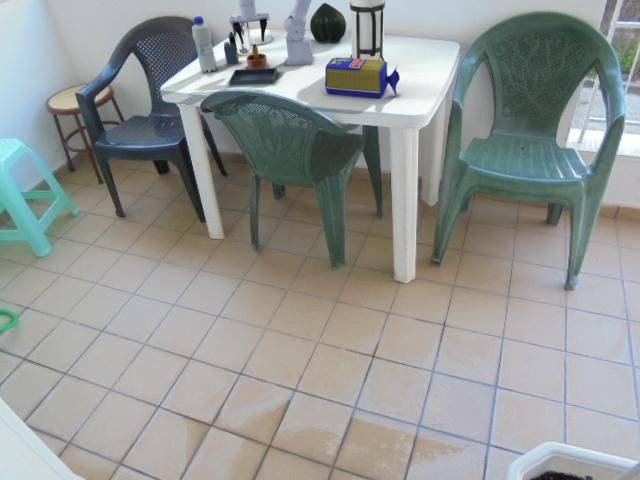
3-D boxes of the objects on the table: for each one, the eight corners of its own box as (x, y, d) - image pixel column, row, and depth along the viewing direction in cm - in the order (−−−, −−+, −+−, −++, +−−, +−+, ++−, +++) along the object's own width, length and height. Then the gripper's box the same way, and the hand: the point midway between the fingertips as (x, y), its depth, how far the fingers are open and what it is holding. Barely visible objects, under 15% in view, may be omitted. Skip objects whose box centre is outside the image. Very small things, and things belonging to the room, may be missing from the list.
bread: (332, 83, 172) (331, 54, 166) (401, 89, 165) (402, 58, 158) (322, 95, 165) (321, 65, 159) (394, 101, 158) (395, 70, 151)
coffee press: (338, 64, 186) (334, -23, 166) (364, 51, 194) (364, -33, 175) (374, 74, 176) (374, -17, 157) (400, 60, 185) (403, -28, 165)
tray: (277, 73, 183) (276, 68, 182) (273, 84, 175) (273, 79, 174) (235, 75, 184) (234, 69, 183) (230, 86, 176) (229, 81, 175)
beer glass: (234, 55, 201) (227, 17, 191) (242, 49, 205) (235, 11, 196) (248, 56, 198) (242, 17, 189) (256, 50, 203) (251, 12, 193)
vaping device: (238, 64, 192) (233, 33, 184) (226, 64, 193) (219, 33, 185) (240, 62, 193) (235, 31, 186) (228, 62, 194) (222, 31, 187)
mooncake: (263, 46, 207) (261, 37, 204) (239, 43, 211) (237, 35, 209) (276, 37, 215) (275, 28, 212) (253, 34, 219) (252, 26, 217)
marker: (260, 65, 189) (257, 43, 183) (259, 67, 187) (256, 45, 182) (255, 65, 189) (252, 43, 183) (254, 67, 187) (251, 45, 182)
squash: (336, 35, 194) (342, -2, 194) (302, 35, 199) (308, -2, 199) (346, 50, 208) (352, 15, 208) (314, 49, 213) (319, 15, 213)
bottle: (210, 75, 186) (198, 20, 173) (197, 72, 189) (184, 18, 176) (221, 69, 190) (211, 14, 177) (208, 66, 193) (197, 13, 180)
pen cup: (268, 63, 191) (267, 52, 188) (266, 71, 185) (264, 60, 182) (249, 64, 192) (248, 53, 189) (246, 72, 186) (244, 61, 183)
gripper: (265, -3, 177) (270, 36, 186) (226, 2, 176) (232, 41, 184) (268, 2, 172) (272, 42, 181) (227, 8, 170) (234, 47, 179)
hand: (252, 42), depth 182 cm, fingers open, 7 cm apart
